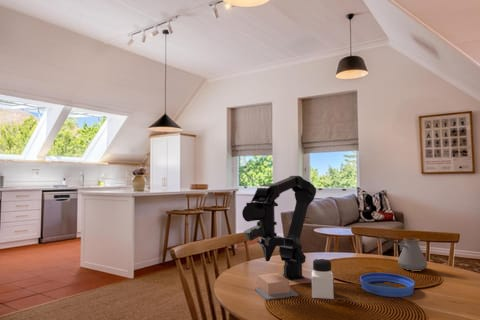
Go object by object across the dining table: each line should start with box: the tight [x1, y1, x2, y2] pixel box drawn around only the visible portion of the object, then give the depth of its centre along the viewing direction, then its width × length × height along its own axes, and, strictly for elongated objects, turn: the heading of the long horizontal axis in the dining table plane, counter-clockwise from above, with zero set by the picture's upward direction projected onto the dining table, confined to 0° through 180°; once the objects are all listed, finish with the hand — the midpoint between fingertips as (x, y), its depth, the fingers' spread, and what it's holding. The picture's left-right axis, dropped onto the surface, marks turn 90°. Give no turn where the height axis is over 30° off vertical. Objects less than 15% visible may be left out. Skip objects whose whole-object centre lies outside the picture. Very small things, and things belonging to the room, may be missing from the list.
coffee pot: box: [378, 235, 428, 270], centre depth 147 cm, size 21×12×15 cm, turn 104°
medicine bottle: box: [311, 258, 335, 300], centre depth 118 cm, size 7×7×12 cm
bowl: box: [359, 272, 416, 298], centre depth 124 cm, size 18×18×4 cm
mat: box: [254, 287, 300, 301], centre depth 121 cm, size 12×11×1 cm
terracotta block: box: [257, 272, 291, 295], centre depth 124 cm, size 8×4×10 cm
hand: (267, 261), depth 128 cm, fingers closed
